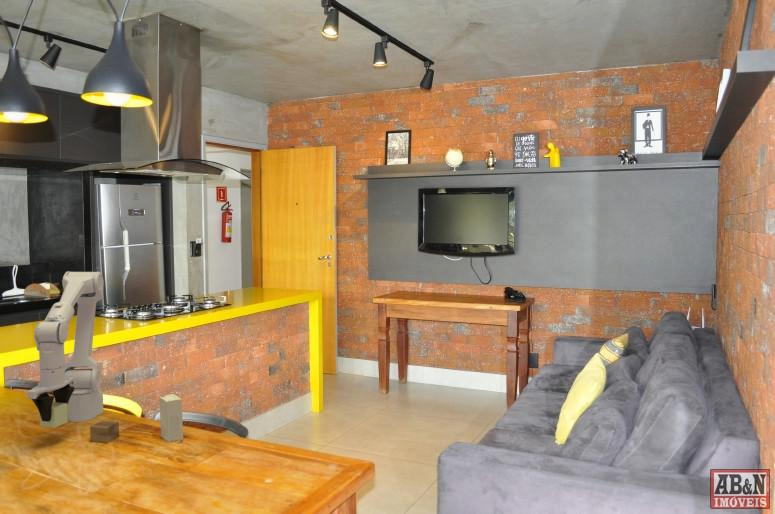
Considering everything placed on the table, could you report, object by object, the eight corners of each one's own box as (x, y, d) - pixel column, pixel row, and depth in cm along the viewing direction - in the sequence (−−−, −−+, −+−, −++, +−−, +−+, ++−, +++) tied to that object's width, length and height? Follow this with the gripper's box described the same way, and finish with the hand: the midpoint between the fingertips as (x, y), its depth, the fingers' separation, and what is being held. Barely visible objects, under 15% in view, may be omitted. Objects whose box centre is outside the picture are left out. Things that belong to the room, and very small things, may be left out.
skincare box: (184, 442, 165) (183, 398, 164) (167, 446, 162) (166, 401, 161) (175, 435, 170) (175, 393, 169) (159, 439, 167) (158, 396, 166)
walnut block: (103, 434, 167) (102, 420, 167) (119, 436, 166) (118, 421, 165) (90, 441, 162) (90, 426, 162) (106, 443, 161) (106, 428, 161)
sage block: (53, 420, 163) (53, 401, 163) (67, 421, 162) (67, 403, 162) (40, 425, 159) (39, 407, 158) (54, 427, 158) (54, 408, 157)
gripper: (60, 359, 167) (62, 407, 168) (16, 372, 153) (18, 425, 154) (82, 361, 165) (83, 409, 167) (39, 375, 151) (41, 428, 153)
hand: (53, 417), depth 160 cm, fingers closed on sage block, 4 cm apart
